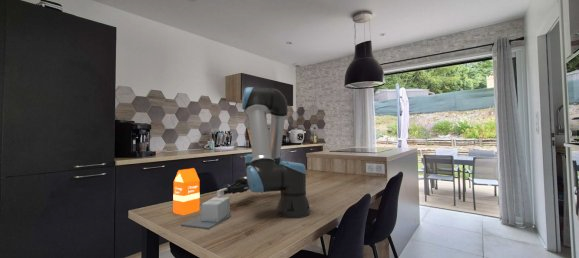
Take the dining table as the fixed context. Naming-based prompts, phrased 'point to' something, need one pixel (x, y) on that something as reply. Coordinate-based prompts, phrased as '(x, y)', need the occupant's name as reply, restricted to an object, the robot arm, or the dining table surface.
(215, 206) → the supplement box
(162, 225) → the dining table surface
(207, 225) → the mat
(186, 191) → the orange juice
